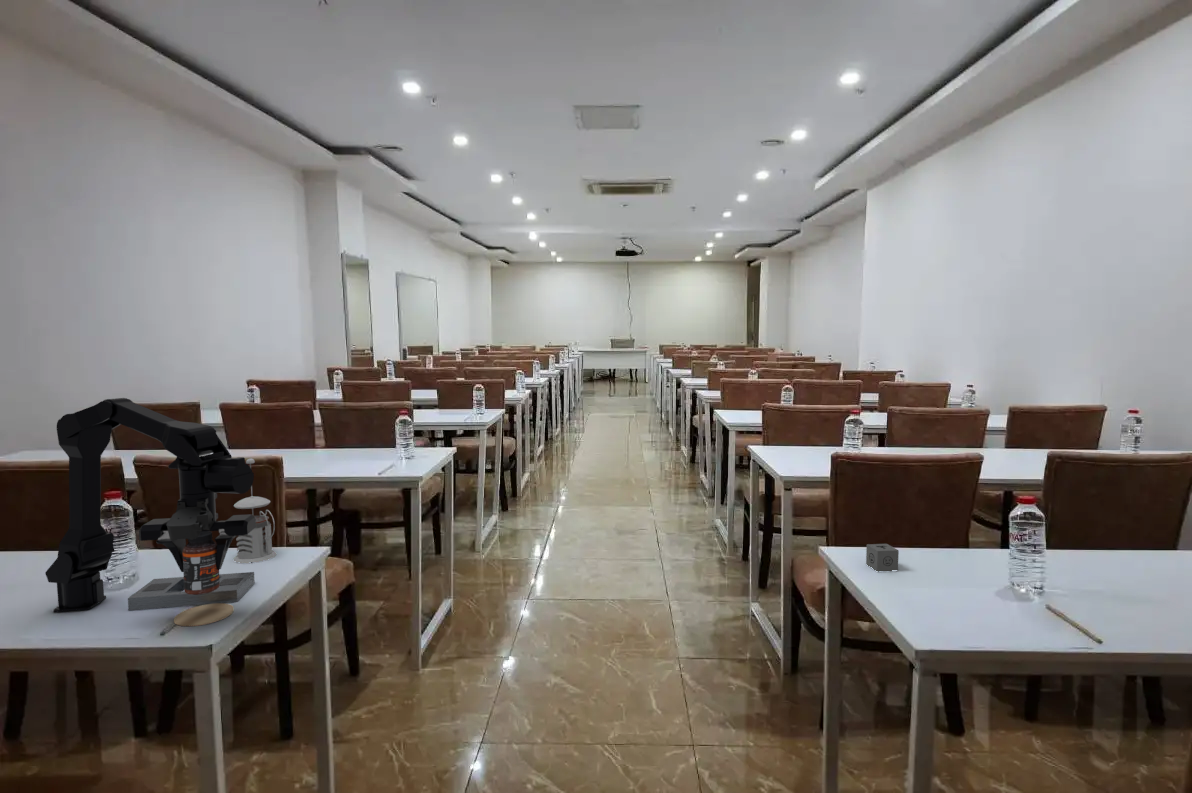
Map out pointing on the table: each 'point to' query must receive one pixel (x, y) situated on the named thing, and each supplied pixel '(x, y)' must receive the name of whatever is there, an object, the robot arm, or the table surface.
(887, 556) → the dice cube
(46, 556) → the table surface
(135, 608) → the grey compartment tray
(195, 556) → the supplement bottle
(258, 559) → the french press
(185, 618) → the cork coaster
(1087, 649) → the table surface
